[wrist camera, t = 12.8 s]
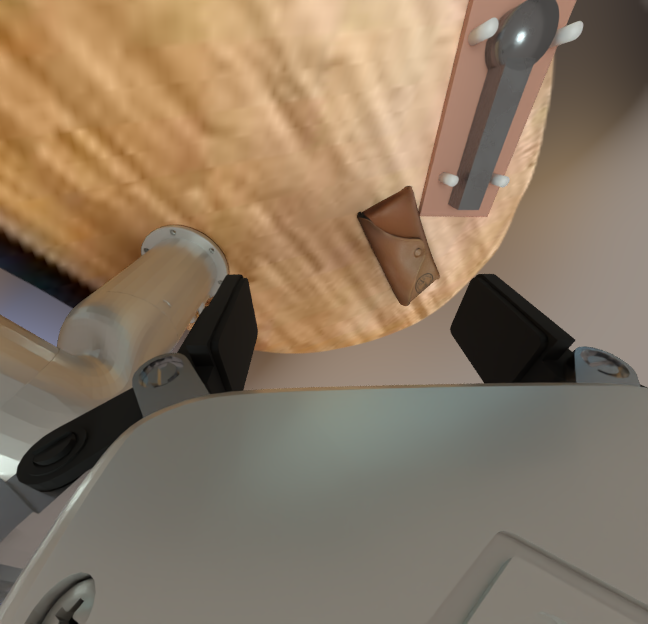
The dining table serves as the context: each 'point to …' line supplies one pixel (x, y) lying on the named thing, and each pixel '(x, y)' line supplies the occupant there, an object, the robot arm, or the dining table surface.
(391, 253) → the sunglasses case
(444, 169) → the peg rack
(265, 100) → the dining table surface
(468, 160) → the grey spoon
